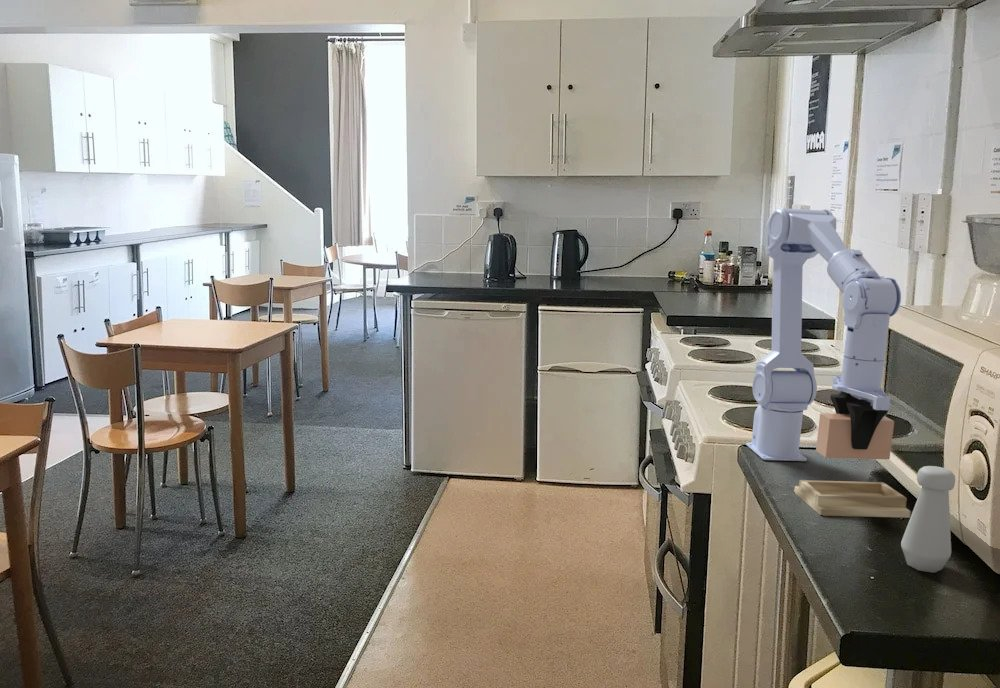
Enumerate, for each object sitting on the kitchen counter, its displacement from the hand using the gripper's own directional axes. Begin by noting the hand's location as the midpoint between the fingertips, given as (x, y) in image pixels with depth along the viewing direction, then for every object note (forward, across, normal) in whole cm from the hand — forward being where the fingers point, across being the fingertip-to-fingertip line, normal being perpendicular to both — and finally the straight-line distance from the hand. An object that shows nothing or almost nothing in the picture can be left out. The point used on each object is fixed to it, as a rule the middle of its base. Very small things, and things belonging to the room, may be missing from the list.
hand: (853, 444), depth 135 cm
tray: (+9, +2, 0) cm, 9 cm away
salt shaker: (+9, +24, -1) cm, 25 cm away
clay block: (+2, 0, 0) cm, 2 cm away
